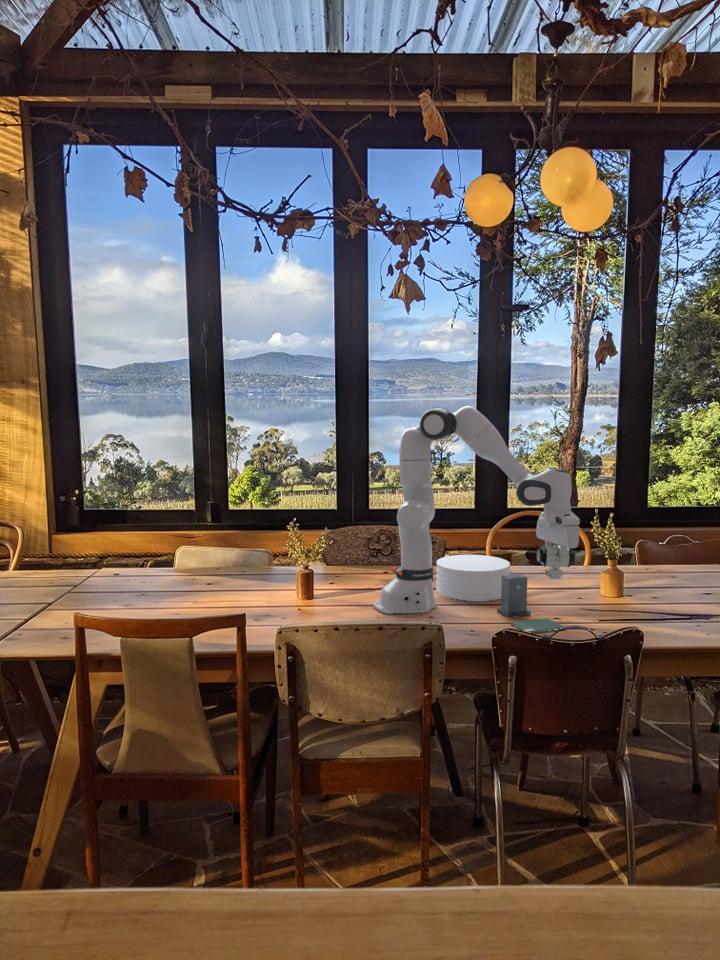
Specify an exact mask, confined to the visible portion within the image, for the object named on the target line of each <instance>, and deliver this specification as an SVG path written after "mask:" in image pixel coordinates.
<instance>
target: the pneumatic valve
mask: <svg viewBox="0 0 720 960" xmlns="http://www.w3.org/2000/svg"><path fill="white" fill-rule="evenodd" d="M560 550H561V549H560V545H557V544H554V545H553V544H552V545H545V544H544V545H543V544H542V545H540V548H539V549H537V551H536V561H537V562H538V563H540V564H541V565H542V567H544V568H545V567H547V569H545V576H546V577H548V579H550V580H560V579H562V577H563V570H562V569H561V568H570V567H571V565H572V564H573V563H574V562H575V551H574V550H573V549H572V548H568V549H567V551H566V553H565V558H564V559H561V558H558V553H560Z"/></svg>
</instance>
